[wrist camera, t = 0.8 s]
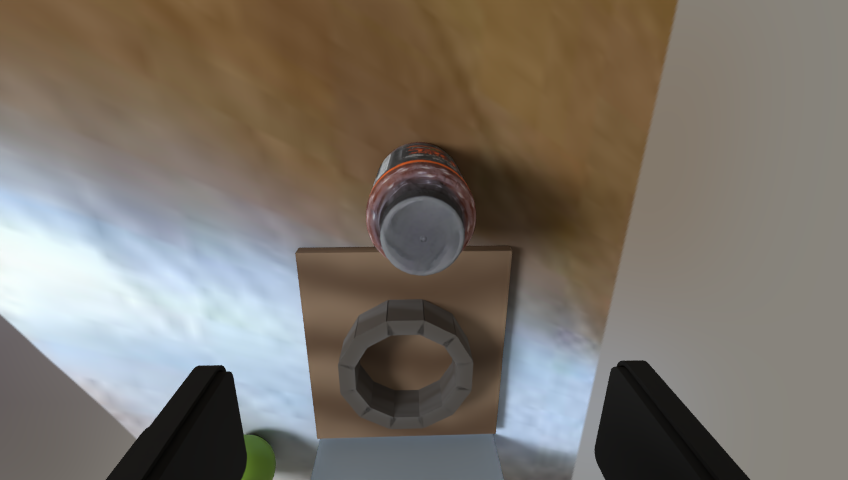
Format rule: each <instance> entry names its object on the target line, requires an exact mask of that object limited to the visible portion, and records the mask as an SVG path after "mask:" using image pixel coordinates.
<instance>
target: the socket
mask: <svg viewBox="0 0 848 480" xmlns="http://www.w3.org/2000/svg"><path fill="white" fill-rule="evenodd" d="M295 254H296V262H297V271H298V279H299V287H300V296H301V304H302V313H303V321H304V330H305V338H306V346H307V355H308V363H309V372H310V380H311V389H312V397H313V406H314V414H315V422H316V431H317V439H325V438H361V437H397V436H433V435H468V434H496V423H497V413H498V402H499V391H500V380H501V369H502V358H503V347H504V336H505V325H506V314H507V303H508V292H509V281H510V271H511V260H512V250H511V248H510V246H466V248H465V249H464V250H463V251H462V252H461V253H460V255H459V256H458V258H457V259H456V260H455V261H454V263H452V264H451V265H450V266H449V267H448V268H446V269H444V270H443V271H441V272H438V273H435V274H431V275H426V276H419V275H411V274H408V273H406V272H403V271H401V270H400V269H398V268H396V267H395V266H394V265H393V264H392V263H391V262H390V261H389V260H388V259H387V258H385V257H384V256H383V255H382V254H381V253H380V252H379V251H378V250H377V248H376V247H335V248H298V250H297V251H296V253H295Z"/></svg>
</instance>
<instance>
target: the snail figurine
mask: <svg viewBox="0 0 848 480" xmlns="http://www.w3.org/2000/svg"><path fill="white" fill-rule="evenodd" d="M244 440H245V446H246V451H247V465H246V469H245V472H244V475H243V477H242V479H241V480H272V479H273V477H274V473H275V468H276V460H275V455H274V452H273V449H272V448H271V446H270V445H269V444H268V442H266V441H265V440H264V439H262V438H261V437H258V436H255V435H244Z"/></svg>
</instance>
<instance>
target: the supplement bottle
mask: <svg viewBox="0 0 848 480" xmlns="http://www.w3.org/2000/svg"><path fill="white" fill-rule="evenodd" d="M366 224H367V229H368V233H369V236H370V239H371V240H372V242H373V244H374V245H375V247H376V248H377V250H378V251H379V252H380V253H381V254H382V255H383V256H384V257H385V258H387V259H388V260H389V261H390V262H391V263H392V264H393V265H394V266H395V267H396V268H398V269H400V270H401V271H403V272H406V273H408V274H411V275H419V276H426V275H431V274H435V273H438V272H441V271H443V270H444V269H446V268H448V267H449V266H450V265H451V264H452V263H454V261H455V260H456V259H457V258H458V256H459V255H460V253H461V252H462V251H463V250H464V249H465V248H466V246H467V245H468V243H469V242H470V240H471V238H472V235H473V233H474V229H475V225H476V207H475V202H474V198H473V196H472V193H471V191H470V189H469V187H468V185H467V183H466V182H465V180H464V178H463V176H462V174H461V173H460V171H459V169H458V166H457V165H456V163H455V162H454V160H453V159H452V158H451V157H450V156H449V155H448V154H447V153H446V152H445V151H443V150H442V149H441V148H439V147H437V146H435V145H432V144H429V143H423V142H415V143H409V144H405V145H402V146H400V147H398V148H397V149H395V150H394V151H393V152H391V153H390V154H389V155H388V156H387V157H386V159H385V160H384V161H383V163H382V165H381V166H380V168H379V171H378V174H377V177H376V180H375V182H374V185H373V188H372V190H371V193H370V196H369V199H368V203H367V209H366Z"/></svg>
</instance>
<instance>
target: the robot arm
mask: <svg viewBox="0 0 848 480" xmlns="http://www.w3.org/2000/svg"><path fill="white" fill-rule="evenodd" d="M595 458H596V461H597V464H598V466H599V468H600V470H601V472H602V474H603V476H604V478H605V480H750V479H749V478H748V477H747V475H746V474H745V473H744V472H743V471H742V470H741V469H740V468H739V466H738V465H737V464H736V463H735V462H734V461H733V459H732V458H731V457H730V456H729V455H728V454H727V453H726V451H725V450H724V449H723V448H722V447H721V446H720V445H719V443H718V442H717V441H716V440H715V439H714V438H713V437H712V435H711V434H710V433H709V432H708V431H707V430H706V429H705V428H704V426H703V425H702V424H701V423H700V422H699V421H698V420H697V418H696V417H695V416H694V415H693V414H692V413H691V412H690V410H689V409H688V408H687V407H686V406H685V405H684V404H683V403H682V401H681V400H680V399H679V398H678V397H677V396H676V394H675V393H674V392H673V391H672V390H671V389H670V388H669V387H668V385H667V384H666V383H665V382H664V381H663V380H662V379H661V377H660V376H659V375H658V374H657V373H656V372H655V370H654V369H653V368H652V367H651V366H650V365H649V364H648V363H647V362H646V361H643V360H642V361H620V362H619V363H618V364H617V367H613V368H612V369H611V372H610V376H609V381H608V386H607V391H606V396H605V401H604V405H603V411H602V415H601V420H600V425H599V430H598V435H597V439H596V444H595ZM246 465H247V451H246V446H245V440H244V435H243V429H242V423H241V418H240V412H239V407H238V401H237V395H236V390H235V384H234V378H233V374H232V373H231V372H226V369H225V368H224V366H222V365H214V366H197V367H195V368H194V369H193V370H192V372H191V373H190V374H189V376H188V377H187V378H186V380H185V381H184V382H183V383H182V385H181V386H180V387H179V389H178V390H177V391H176V393H175V394H174V395H173V397H172V398H171V399H170V400H169V402H168V403H167V404H166V406H165V407H164V408H163V410H162V411H161V412H160V414H159V415H158V416H157V417H156V419H155V420H154V421H153V423H152V424H151V425H150V427H148V428H146V429H145V430H144V431H143V433H142V434H141V435H140V436H139V437H138V439H137V440H136V441H135V442H134V444H133V445H132V446H131V448H130V449H129V450H128V452H127V453H126V454H125V455H124V457H123V458H122V459H121V461H120V462H119V464H118V465H117V466H116V467H115V468H114V470H113V471H112V472H111V474H110V475H109V476H108V478H107V479H106V480H241V479H242V477H243V475H244V472H245V469H246Z"/></svg>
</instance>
